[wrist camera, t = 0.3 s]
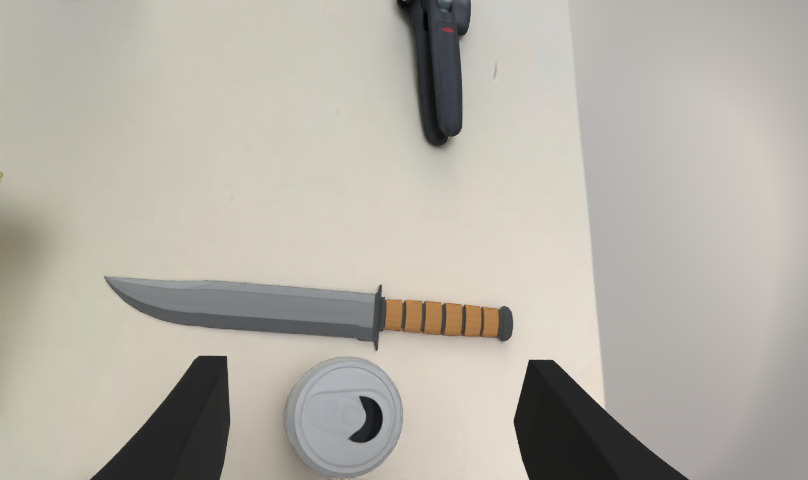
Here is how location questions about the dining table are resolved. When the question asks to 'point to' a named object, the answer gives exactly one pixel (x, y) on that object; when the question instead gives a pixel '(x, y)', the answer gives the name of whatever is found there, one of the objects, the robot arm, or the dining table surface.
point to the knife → (304, 310)
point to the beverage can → (344, 417)
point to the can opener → (439, 62)
